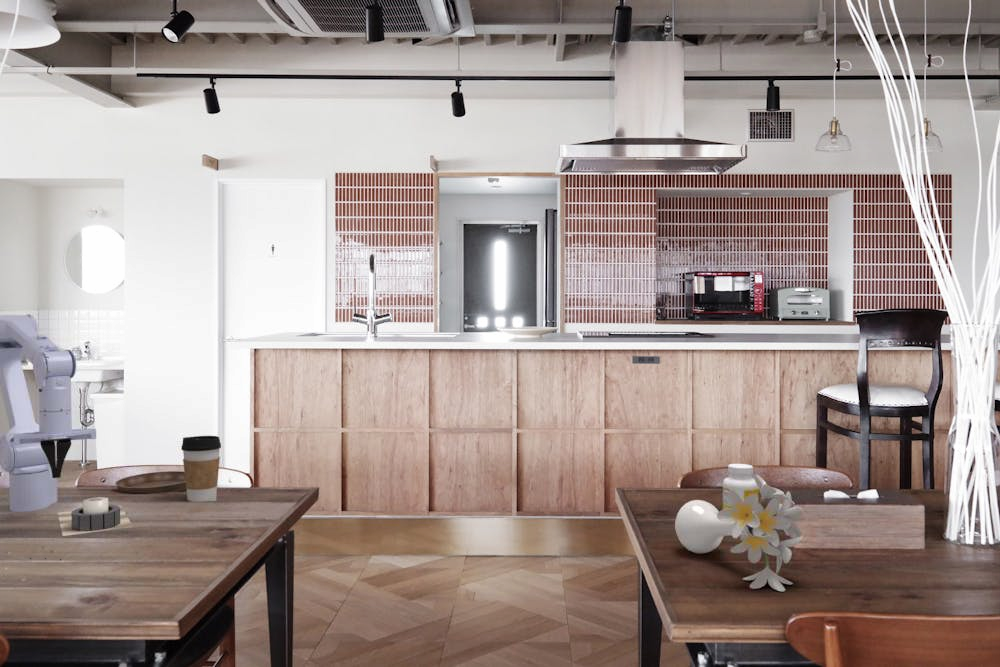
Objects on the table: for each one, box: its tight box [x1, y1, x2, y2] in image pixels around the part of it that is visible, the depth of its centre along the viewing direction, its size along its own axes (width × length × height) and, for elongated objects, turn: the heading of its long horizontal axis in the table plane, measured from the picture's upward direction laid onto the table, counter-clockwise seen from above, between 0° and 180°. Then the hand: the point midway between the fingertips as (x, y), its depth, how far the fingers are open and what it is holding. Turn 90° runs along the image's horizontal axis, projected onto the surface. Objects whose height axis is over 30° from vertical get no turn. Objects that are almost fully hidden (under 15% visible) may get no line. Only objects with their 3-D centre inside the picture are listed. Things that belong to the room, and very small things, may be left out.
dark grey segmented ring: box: [71, 504, 120, 531], centre depth 154 cm, size 8×8×3 cm
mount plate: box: [57, 505, 133, 537], centre depth 159 cm, size 20×12×1 cm, turn 32°
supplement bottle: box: [722, 463, 759, 510], centre depth 153 cm, size 7×7×13 cm
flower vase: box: [674, 472, 805, 593], centre depth 132 cm, size 13×18×25 cm
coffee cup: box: [180, 435, 222, 503], centre depth 176 cm, size 8×8×15 cm
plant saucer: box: [115, 470, 187, 494], centre depth 190 cm, size 18×18×3 cm
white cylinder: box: [82, 496, 109, 514], centre depth 154 cm, size 4×4×5 cm
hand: (56, 477), depth 159 cm, fingers closed
